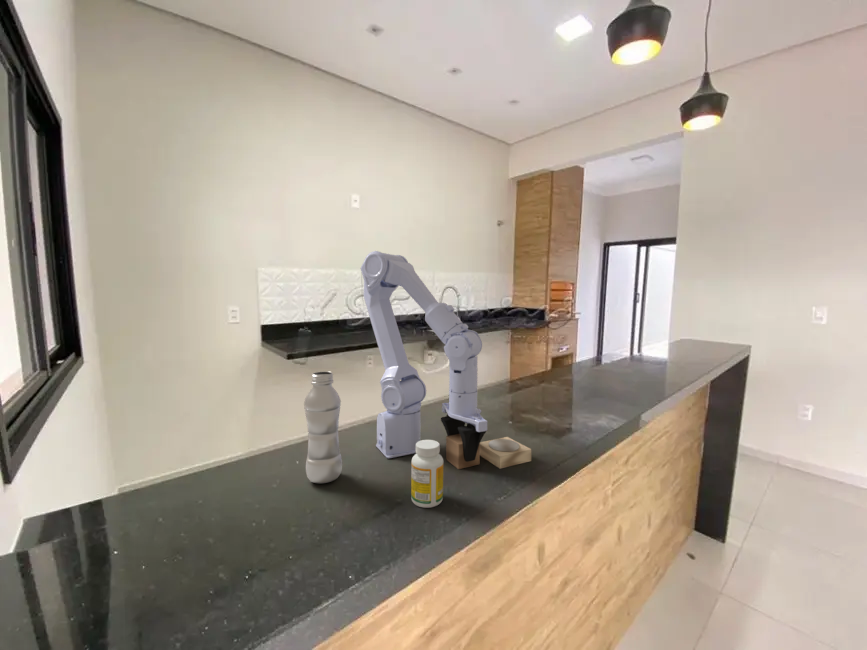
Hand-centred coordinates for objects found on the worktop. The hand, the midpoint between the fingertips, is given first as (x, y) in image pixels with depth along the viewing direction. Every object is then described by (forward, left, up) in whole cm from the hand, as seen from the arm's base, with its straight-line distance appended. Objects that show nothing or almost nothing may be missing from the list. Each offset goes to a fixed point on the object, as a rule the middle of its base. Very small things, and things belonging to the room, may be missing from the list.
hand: (462, 455), depth 78 cm
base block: (+9, -2, -1) cm, 9 cm away
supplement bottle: (-13, -10, -2) cm, 16 cm away
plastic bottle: (-27, +5, -2) cm, 28 cm away
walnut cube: (0, 0, -1) cm, 1 cm away
